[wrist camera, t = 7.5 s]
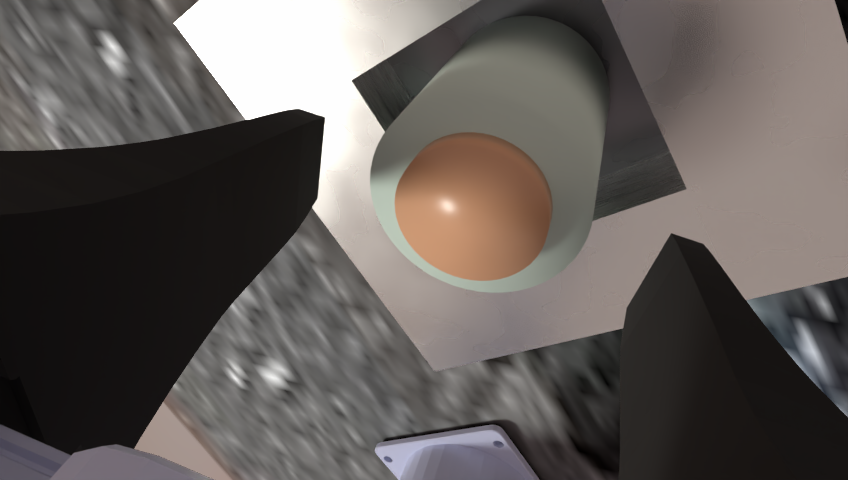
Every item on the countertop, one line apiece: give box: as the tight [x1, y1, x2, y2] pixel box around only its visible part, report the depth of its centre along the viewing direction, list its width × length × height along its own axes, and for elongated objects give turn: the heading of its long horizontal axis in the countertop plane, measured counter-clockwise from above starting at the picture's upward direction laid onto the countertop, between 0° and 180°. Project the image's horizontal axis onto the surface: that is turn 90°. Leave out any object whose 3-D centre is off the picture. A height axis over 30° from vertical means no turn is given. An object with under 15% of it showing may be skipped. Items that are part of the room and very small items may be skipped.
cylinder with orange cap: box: [370, 16, 610, 293], centre depth 14 cm, size 5×5×7 cm
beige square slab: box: [174, 0, 848, 371], centre depth 16 cm, size 14×14×4 cm
